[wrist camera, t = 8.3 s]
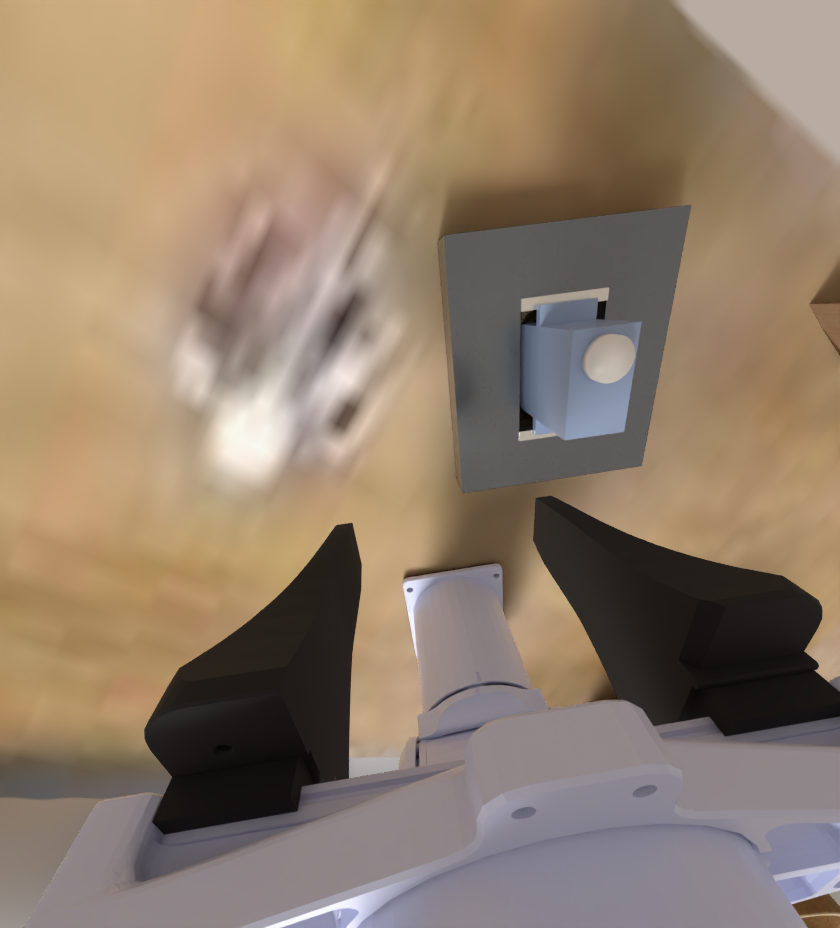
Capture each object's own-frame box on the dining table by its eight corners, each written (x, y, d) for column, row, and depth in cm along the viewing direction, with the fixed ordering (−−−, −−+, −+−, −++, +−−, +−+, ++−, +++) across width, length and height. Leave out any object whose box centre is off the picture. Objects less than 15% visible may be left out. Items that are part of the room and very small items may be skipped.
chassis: (622, 454, 24) (642, 466, 22) (456, 479, 23) (462, 494, 21) (660, 215, 18) (693, 203, 16) (437, 242, 17) (444, 235, 15)
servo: (563, 415, 22) (629, 455, 16) (519, 421, 22) (569, 464, 16) (572, 298, 19) (656, 294, 13) (521, 305, 19) (583, 304, 13)
